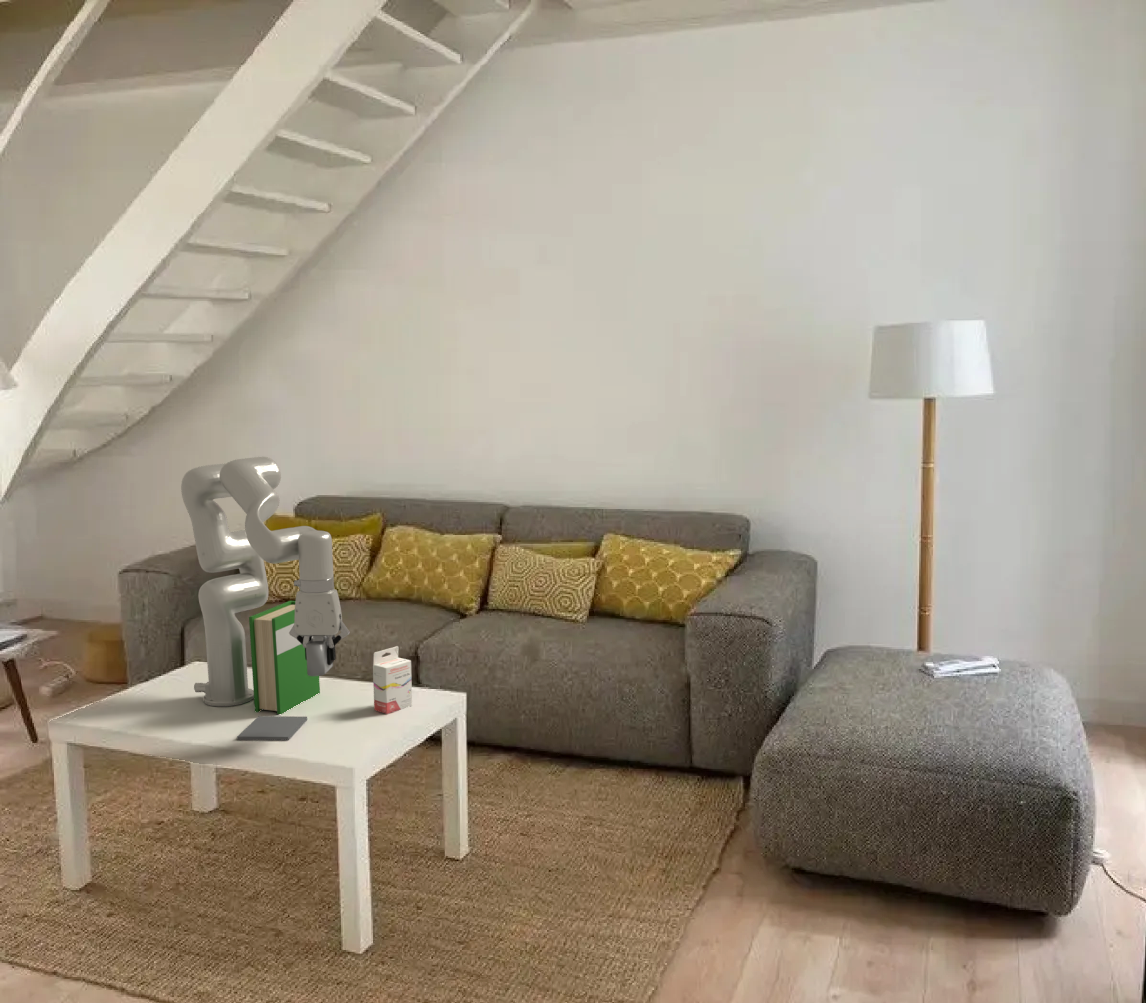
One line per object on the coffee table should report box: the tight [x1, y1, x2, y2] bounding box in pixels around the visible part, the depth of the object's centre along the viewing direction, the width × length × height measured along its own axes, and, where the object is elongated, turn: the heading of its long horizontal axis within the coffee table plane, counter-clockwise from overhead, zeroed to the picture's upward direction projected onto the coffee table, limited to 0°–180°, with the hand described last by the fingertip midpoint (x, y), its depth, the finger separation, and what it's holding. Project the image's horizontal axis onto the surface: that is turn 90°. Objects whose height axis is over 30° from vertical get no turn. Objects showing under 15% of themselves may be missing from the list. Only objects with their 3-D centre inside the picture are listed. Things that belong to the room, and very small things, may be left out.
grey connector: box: [306, 636, 334, 677], centre depth 262 cm, size 4×10×9 cm, turn 176°
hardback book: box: [248, 600, 321, 715], centre depth 287 cm, size 18×7×24 cm, turn 160°
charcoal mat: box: [236, 715, 308, 741], centre depth 268 cm, size 12×14×1 cm
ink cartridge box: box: [372, 645, 413, 715], centre depth 281 cm, size 9×5×15 cm, turn 141°
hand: (320, 662), depth 263 cm, fingers closed on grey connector, 4 cm apart
